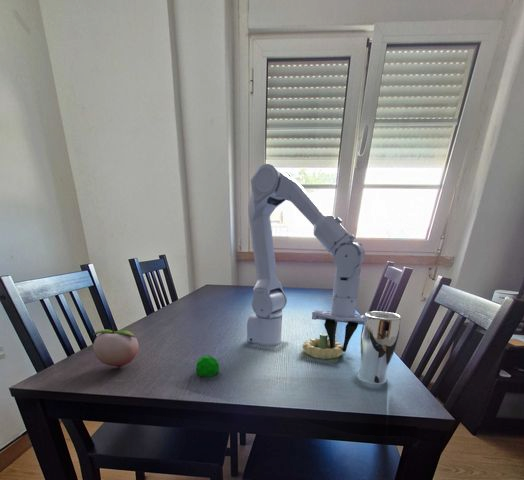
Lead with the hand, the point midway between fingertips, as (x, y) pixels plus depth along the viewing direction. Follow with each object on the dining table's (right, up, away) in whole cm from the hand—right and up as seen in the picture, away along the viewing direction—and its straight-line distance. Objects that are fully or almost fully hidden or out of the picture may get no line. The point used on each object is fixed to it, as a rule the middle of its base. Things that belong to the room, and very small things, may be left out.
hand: (338, 349), depth 72 cm
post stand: (-4, -2, +2) cm, 5 cm away
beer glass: (+4, -7, -11) cm, 14 cm away
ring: (-4, 0, +2) cm, 4 cm away
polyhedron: (-31, -6, -10) cm, 33 cm away
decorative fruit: (-53, -5, -6) cm, 53 cm away
